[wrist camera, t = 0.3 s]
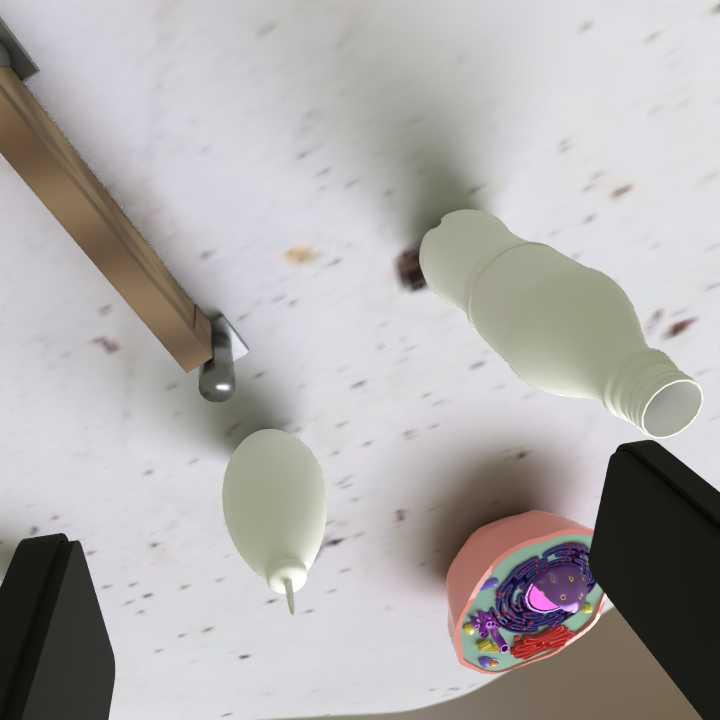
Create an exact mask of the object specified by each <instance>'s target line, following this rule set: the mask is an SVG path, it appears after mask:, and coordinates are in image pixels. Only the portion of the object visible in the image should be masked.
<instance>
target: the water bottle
mask: <svg viewBox="0 0 720 720" xmlns="http://www.w3.org/2000/svg"><path fill="white" fill-rule="evenodd" d="M419 263H420V267H421V270H422V272H423V275H424V277H425V280H426V282H427V284H428V286H429V287H430V289H431V290H432V291H433V292H434V293H435V294H436V295H437V296H438V297H439V298H440V299H442V300H443V301H445V302H447V303H449V304H451V305H454V306H456V307H458V308H460V309H461V310H463V311H464V312H465V313H466V314H467V317H468V320H469V322H470V324H471V327H472V328H473V330H474V331H475V332H476V333H477V335H478V336H479V337H480V338H481V339H483V340H484V341H485V342H487V343H488V344H489V345H490V346H491V347H492V348H493V349H494V350H495V351H496V352H497V353H498V354H499V355H500V356H501V357H502V358H503V359H504V360H505V361H506V362H507V363H508V364H509V366H510V368H511V370H512V371H513V372H514V373H515V374H516V375H517V376H518V377H519V378H520V379H522V380H523V381H524V382H526V383H527V384H529V385H531V386H533V387H535V388H537V389H539V390H541V391H544V392H547V393H551V394H555V395H560V396H567V397H576V398H593V399H598V400H601V401H603V404H604V406H605V408H606V409H607V410H608V411H609V412H610V413H611V414H613V415H614V416H617V417H619V418H622V419H624V420H626V421H629V422H631V423H632V424H634V425H635V427H637V428H638V429H640V430H641V431H642V432H643V433H644V434H646V435H648V436H651V437H653V438H656V439H660V438H669V437H671V436H673V435H676V434H678V433H680V432H681V431H683V430H684V429H685V428H686V427H688V426H689V425H690V424H691V423H692V422H693V420H694V419H695V418H696V417H697V415H698V414H699V412H700V409H701V407H702V404H703V390H702V389H701V387H700V385H699V384H698V383H697V382H695V381H694V380H693V379H692V378H691V377H689V376H688V375H686V374H684V373H683V372H682V371H680V370H679V369H678V368H677V366H676V365H675V364H674V363H673V362H672V361H671V359H670V358H669V356H667V355H666V354H665V353H664V352H662V351H660V350H657V349H651V348H649V347H648V346H647V344H646V342H645V339H644V336H643V333H642V329H641V325H640V323H639V320H638V317H637V315H636V312H635V310H634V307H633V305H632V303H631V301H630V299H629V298H628V296H627V295H626V293H625V292H624V290H623V289H622V288H621V287H620V286H619V285H618V284H617V283H616V282H615V281H614V280H612V279H611V278H610V277H608V276H607V275H605V274H604V273H602V272H601V271H598V270H595V269H593V268H588V267H586V266H584V265H582V264H580V263H578V262H576V261H574V260H572V259H571V258H569V257H567V256H565V255H563V254H561V253H559V252H558V251H556V250H555V249H554V248H552V247H550V246H548V245H545V244H542V243H538V242H530V241H526V240H524V239H521V238H519V237H518V236H516V235H514V234H513V233H511V232H510V231H509V230H508V228H507V227H506V225H505V224H504V223H503V222H502V221H501V220H500V219H499V218H497V217H495V216H493V215H491V214H489V213H487V212H484V211H480V210H470V209H464V210H457V211H454V212H451V213H448V214H446V215H445V216H444V217H443V218H441V224H440V225H439V226H438V227H437V228H434V229H430V230H429V231H428V232H427V233H426V234H425V236H424V237H423V240H422V243H421V247H420V253H419Z"/></svg>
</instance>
